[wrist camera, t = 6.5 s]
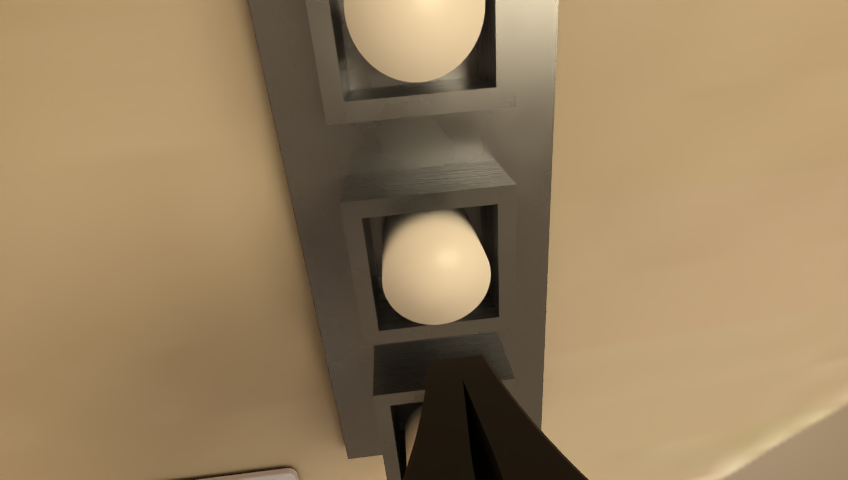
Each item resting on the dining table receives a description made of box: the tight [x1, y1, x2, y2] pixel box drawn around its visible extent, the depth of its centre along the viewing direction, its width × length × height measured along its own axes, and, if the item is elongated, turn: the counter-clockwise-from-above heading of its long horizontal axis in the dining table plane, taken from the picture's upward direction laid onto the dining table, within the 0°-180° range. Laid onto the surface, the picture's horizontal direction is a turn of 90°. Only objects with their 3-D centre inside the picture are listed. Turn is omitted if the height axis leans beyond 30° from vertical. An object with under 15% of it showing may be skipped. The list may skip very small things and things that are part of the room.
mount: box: [248, 0, 559, 480], centre depth 17 cm, size 24×10×4 cm, turn 5°
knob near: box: [344, 0, 485, 82], centre depth 13 cm, size 4×4×4 cm
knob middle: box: [382, 208, 491, 325], centre depth 16 cm, size 4×4×4 cm
